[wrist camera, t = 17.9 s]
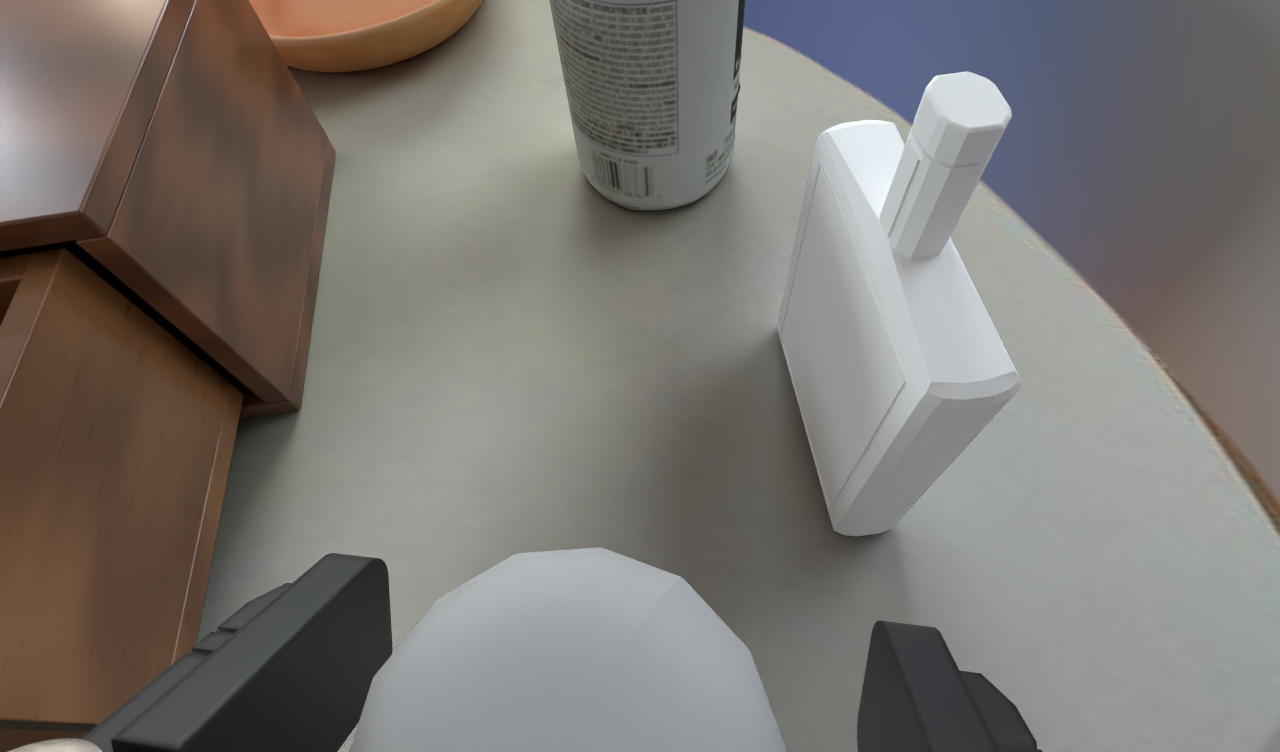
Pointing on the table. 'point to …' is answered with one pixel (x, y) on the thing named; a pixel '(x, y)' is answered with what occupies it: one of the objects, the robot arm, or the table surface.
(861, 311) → the perfume bottle
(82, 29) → the cabinet
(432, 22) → the saucer
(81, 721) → the drawer
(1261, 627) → the table surface
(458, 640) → the salt shaker
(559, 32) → the spray can
